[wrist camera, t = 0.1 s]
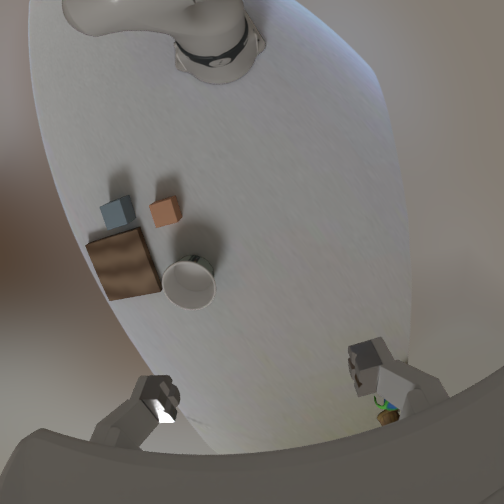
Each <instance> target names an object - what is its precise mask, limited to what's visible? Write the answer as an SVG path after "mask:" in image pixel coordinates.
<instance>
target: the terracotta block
mask: <svg viewBox="0 0 504 504" xmlns="http://www.w3.org/2000/svg"><path fill="white" fill-rule="evenodd" d="M149 207H150V211H151V214H152V217H153V220H154V223H155V226H156V228H158V227H162V226H165V225H169V224H173V223H176V222H178V221H179V220H180V219H181V218H182V215H181V212H180V208H179V205H178V202H177V198H176V196H172V197H169V198H165V199H162V200H159V201H156V202H154V203H152V204H151V205H149Z"/></svg>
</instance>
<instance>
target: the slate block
mask: <svg viewBox="0 0 504 504" xmlns="http://www.w3.org/2000/svg"><path fill="white" fill-rule="evenodd" d="M100 210H101V213H102V216H103V219H104V221H105V224H106V227H107V230H110V229H113V228H116V227H120V226H123V225H126V224H128V223H130V222H131V221H132V220H134V219H135V218H136V216H135V213H134V209H133V206H132V203H131V200H130V197H129V195H128V196H125V197H122V198H120V199H117V200H114V201H111V202H109V203H107V204H105V205H103V206H101V207H100Z"/></svg>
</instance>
